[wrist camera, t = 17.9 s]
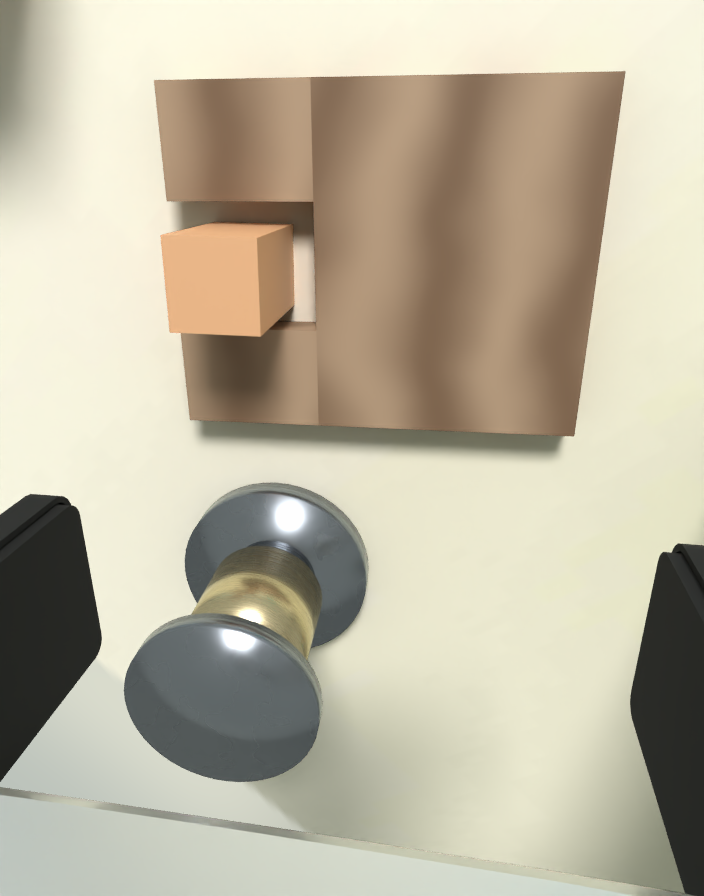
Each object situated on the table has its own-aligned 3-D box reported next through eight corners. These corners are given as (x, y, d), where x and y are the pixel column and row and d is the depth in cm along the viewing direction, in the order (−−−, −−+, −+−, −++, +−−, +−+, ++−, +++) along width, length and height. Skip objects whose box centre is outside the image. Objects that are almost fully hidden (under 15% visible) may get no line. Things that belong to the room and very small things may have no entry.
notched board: (613, 77, 29) (625, 71, 27) (567, 422, 35) (574, 436, 33) (170, 85, 31) (154, 80, 29) (202, 407, 37) (189, 419, 35)
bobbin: (369, 487, 38) (339, 618, 27) (367, 641, 42) (342, 808, 31) (184, 477, 39) (84, 599, 28) (201, 628, 43) (120, 784, 32)
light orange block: (292, 224, 33) (256, 238, 26) (294, 304, 34) (260, 336, 28) (214, 222, 33) (160, 235, 27) (219, 302, 35) (169, 332, 28)
